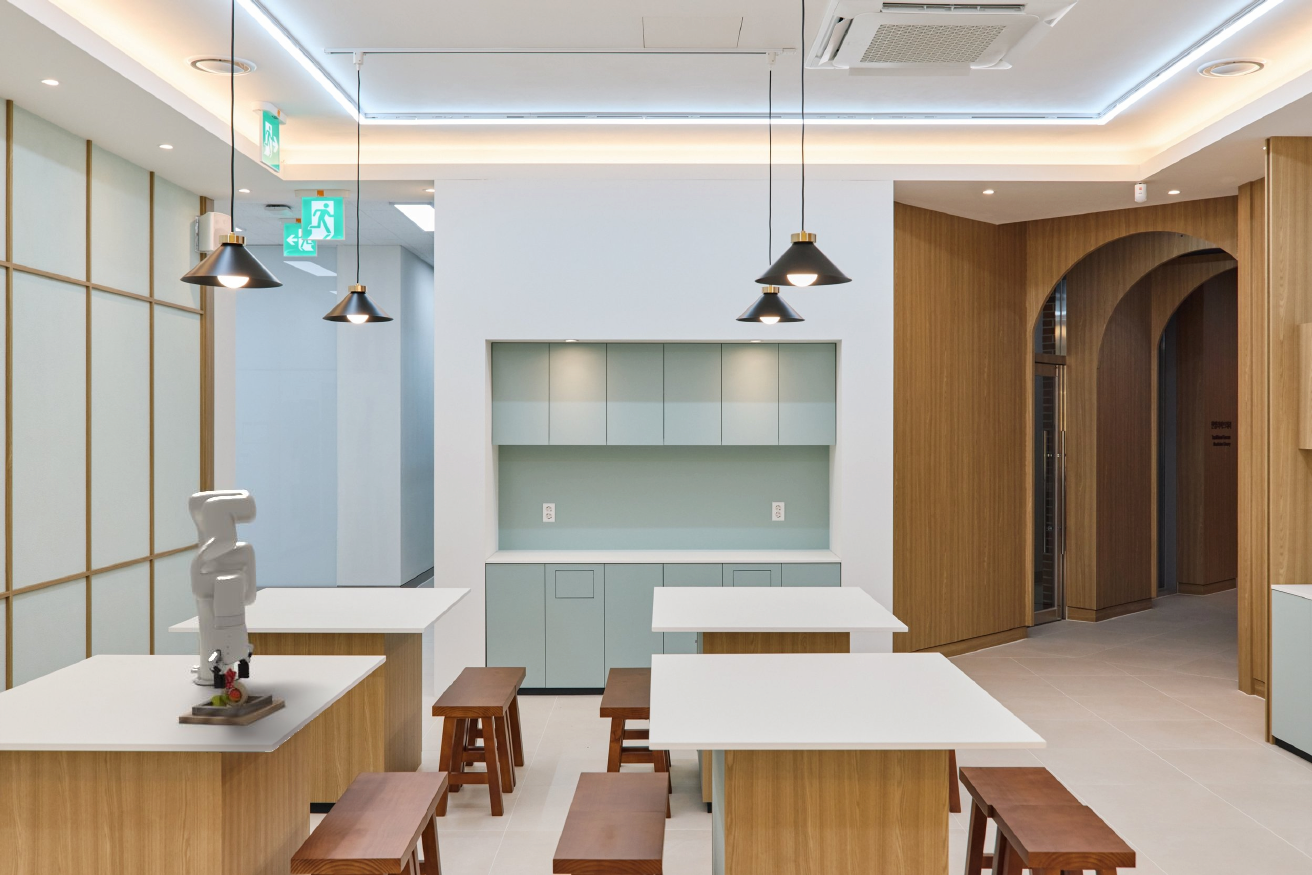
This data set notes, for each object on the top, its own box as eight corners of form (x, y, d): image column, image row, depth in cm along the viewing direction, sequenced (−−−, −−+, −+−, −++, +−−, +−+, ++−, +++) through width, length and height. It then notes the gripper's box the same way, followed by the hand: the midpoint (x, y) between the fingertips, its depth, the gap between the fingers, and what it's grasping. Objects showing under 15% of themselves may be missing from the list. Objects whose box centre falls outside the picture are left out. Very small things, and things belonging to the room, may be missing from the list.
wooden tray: (178, 722, 240) (178, 709, 240) (222, 703, 256) (221, 690, 256) (245, 724, 235) (244, 711, 235) (284, 705, 252) (284, 692, 252)
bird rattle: (245, 712, 249) (215, 700, 249) (260, 675, 249) (229, 662, 248) (235, 719, 242) (203, 707, 242) (250, 681, 242) (219, 669, 242)
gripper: (239, 613, 255) (240, 673, 255) (195, 627, 238) (197, 691, 238) (262, 614, 254) (264, 674, 254) (220, 628, 237) (222, 693, 237)
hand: (232, 682), depth 246 cm, fingers open, 9 cm apart
